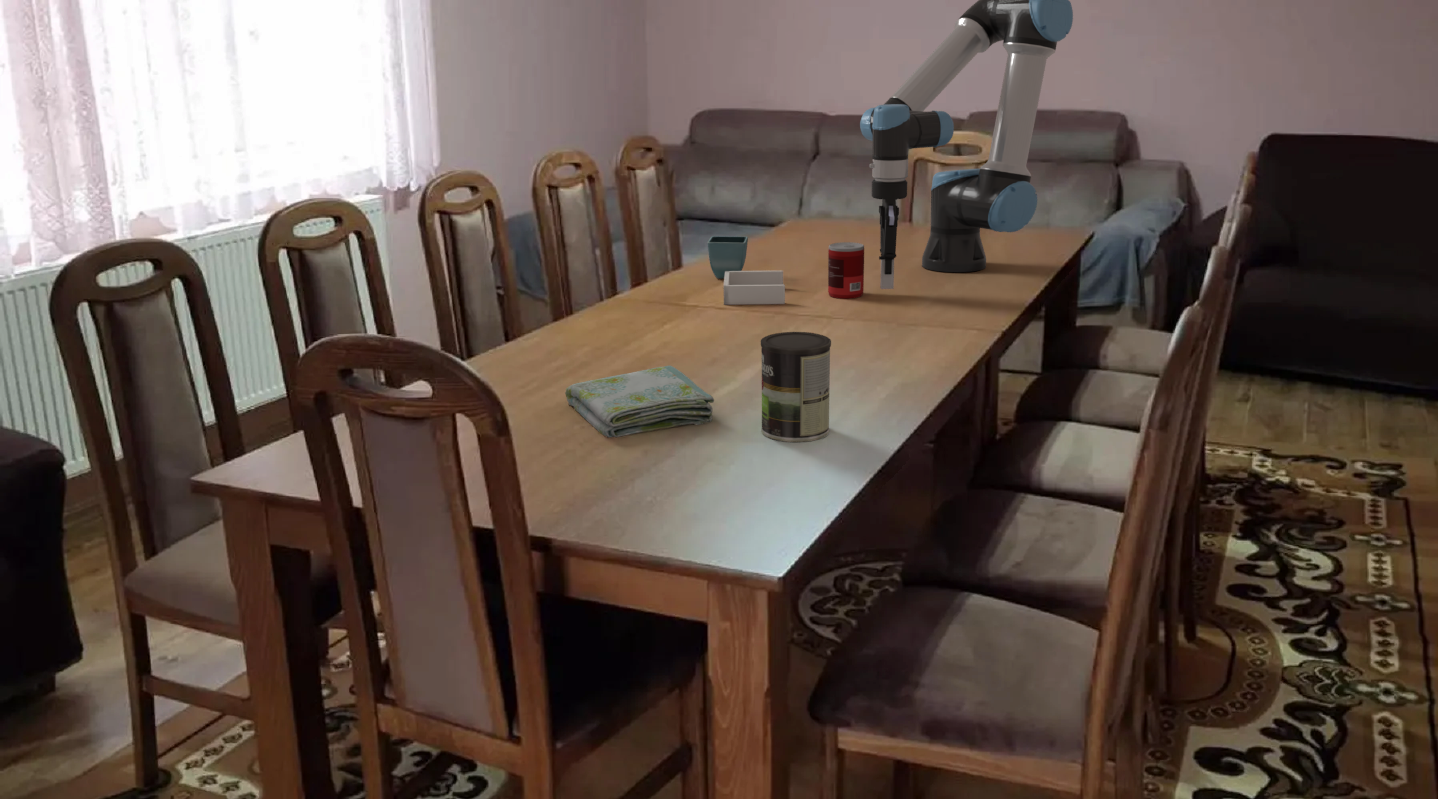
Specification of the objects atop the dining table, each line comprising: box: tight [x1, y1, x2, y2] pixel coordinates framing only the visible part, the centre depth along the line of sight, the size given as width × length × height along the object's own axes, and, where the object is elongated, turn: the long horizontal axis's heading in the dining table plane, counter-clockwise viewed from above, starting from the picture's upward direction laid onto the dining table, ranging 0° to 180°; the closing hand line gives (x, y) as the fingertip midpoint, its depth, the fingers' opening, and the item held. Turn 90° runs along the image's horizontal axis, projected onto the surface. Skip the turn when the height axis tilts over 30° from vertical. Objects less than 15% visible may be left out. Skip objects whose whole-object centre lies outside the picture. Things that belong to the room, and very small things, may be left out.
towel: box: [564, 365, 715, 438], centre depth 200 cm, size 18×21×5 cm
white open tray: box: [723, 270, 786, 306], centre depth 279 cm, size 13×16×4 cm
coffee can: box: [760, 331, 832, 443], centre depth 188 cm, size 10×10×14 cm
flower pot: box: [706, 235, 749, 279], centre depth 298 cm, size 9×9×9 cm
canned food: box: [827, 241, 865, 300], centre depth 277 cm, size 8×8×11 cm
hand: (886, 288), depth 278 cm, fingers closed
